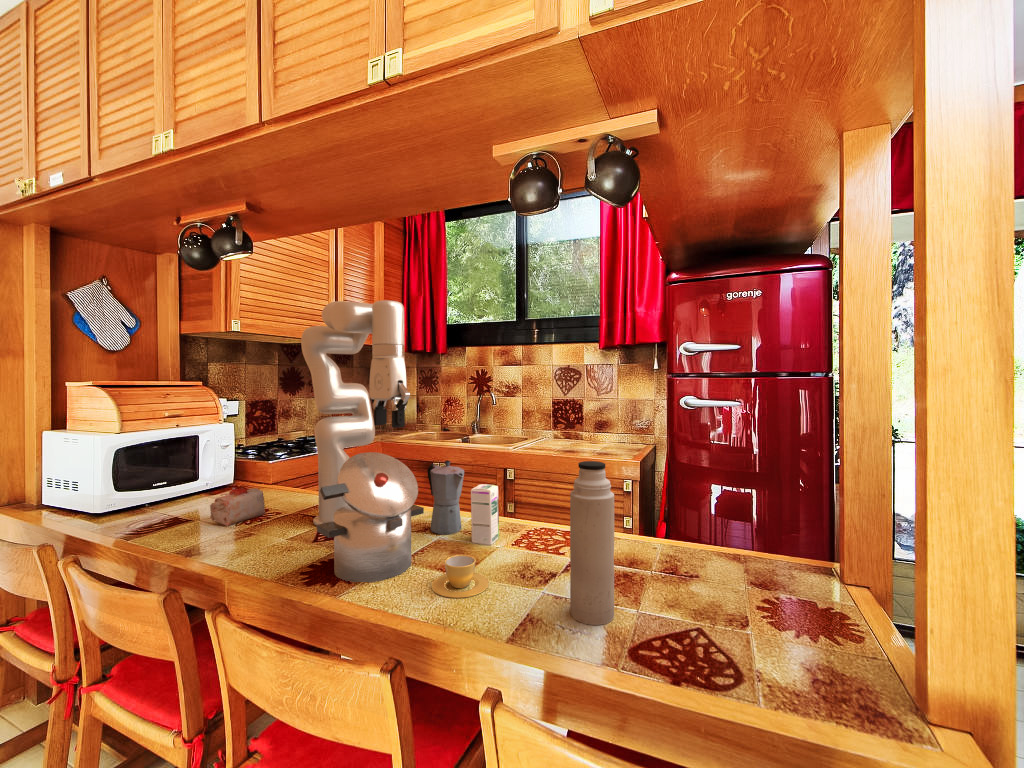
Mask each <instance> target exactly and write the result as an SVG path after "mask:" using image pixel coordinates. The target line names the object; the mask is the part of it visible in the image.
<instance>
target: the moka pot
mask: <svg viewBox="0 0 1024 768" xmlns="http://www.w3.org/2000/svg"><path fill="white" fill-rule="evenodd" d="M426 471H427V479H428V483H429V487H430V488H429V489H430V494H431V496H432V497H433V507H432V514H431V520H430V528H429V529H430V531H431V532H432V533H435V534H437V535H451V534H452V535H453V534H456V533H459V532H460V531H461V530H462V520H461V518H462V517H461V512H460V510H461V509H460V503H459V502H460V497H461V495H462V492H463V491H462V490H463V484H464V483H463V482H464V476H465V469H463V468H462V467H459V466H455V465H454V466H452V465H451V460H444V465H442V466H440V465H438V464H434V463H430V465H429V467H428V468H427V470H426Z"/></svg>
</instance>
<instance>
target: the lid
mask: <svg viewBox="0 0 1024 768" xmlns="http://www.w3.org/2000/svg"><path fill="white" fill-rule="evenodd" d="M320 492H321V495H322V497H323V499H324V500H326V499H331V498H336V497H342V499H343V500H344V501H345V502H346V503H347V505H348V506H350V507H351V508H352V509H353V510H355V511H356V512H358V513H360V514H362V515H364V516H367V517H370V518H375V519H393V518H396V517H399V516H401V515H403V514H405V513H406V512H408V511H409V510H410V508H411V507H412V506H413V504H414V505H415V503H416V500H417V498H418V494H419V485H418V481H417V478H416V476H415V475H414V473H413V472H412V470H411V469H410V468H409V467H408V466H407V465H406V464H405V463H403V462H402V461H400V460H399V459H397V458H396V457H393V456H391V455H389V454H385V453H381V452H370V451H369V452H360V453H357V454H355V455H353V456H351V457H350V458H349V459H348V460H347V461H346V462H345V463H344V464H343V466H342V467H341V469H340V472H339V474H338V478H337V484H336V485H331V486H325V487H321V490H320Z"/></svg>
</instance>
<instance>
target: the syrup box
mask: <svg viewBox="0 0 1024 768" xmlns="http://www.w3.org/2000/svg"><path fill="white" fill-rule="evenodd" d="M499 507H500V506H499V486H498V485H495V484H487V483H484V484H483V483H480V484H477V486H475V487H473V488H471V489H470V509H471V512H470V514H471V515H470V516H471V518H470V519H471V520H470V521H471V522H470V523H471V542H472V543H473V544H477V545H487V546H492V545H493V544H494V543H495V542H496V541H497V540H498V539H499V538H500V520H499V519H500V516H499V514H500V511H499Z"/></svg>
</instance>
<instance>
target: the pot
mask: <svg viewBox="0 0 1024 768" xmlns="http://www.w3.org/2000/svg"><path fill="white" fill-rule="evenodd" d="M424 511H425V510H424V507H422V506H419V505H417V504H415V503H414V504H413V506H412V507H411V508H410V510H409V511H408V512H406V513H405V514H403V515H401V516H399V517H396V518H393V519H375V518H370V517H367V516H364V515H362V514H360V513H358V512H356V511H355V510H353V509H352V508H351V507H350V506H348V505H347V506H344V507H342V508H340V509H338V510H336V511H335V513H334V521H332V522H327V523H323V524H319V525H317V526H316V532H317V533H319V534H321V535H322V536H324V537H326V538H327V539H330V538H333V555H334V557H333V559H334V560H333V561H334V563H333V565H334V567H333V568H334V576H336V577H337V578H338V579H339V578H340V580H341V579H342V581H344V580H345V581H344V582H348V581H351V582H350V583H356V582H368V583H376V581H377V582H382V581H386V580H385V579H387V580H390V579H393V578H395V576H396V577H398V576H400V575H402V574H404V573H406V572H407V571H408V570H409V569H410V568H411V566H412V517H416V516H419V515H423V514H424ZM409 567H410V568H409ZM408 568H409V569H408ZM407 569H408V570H407ZM406 570H407V571H406ZM403 572H404V573H403ZM401 573H402V574H401ZM397 575H398V576H397ZM392 577H393V578H392ZM389 578H390V579H389ZM381 580H382V581H381Z"/></svg>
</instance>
